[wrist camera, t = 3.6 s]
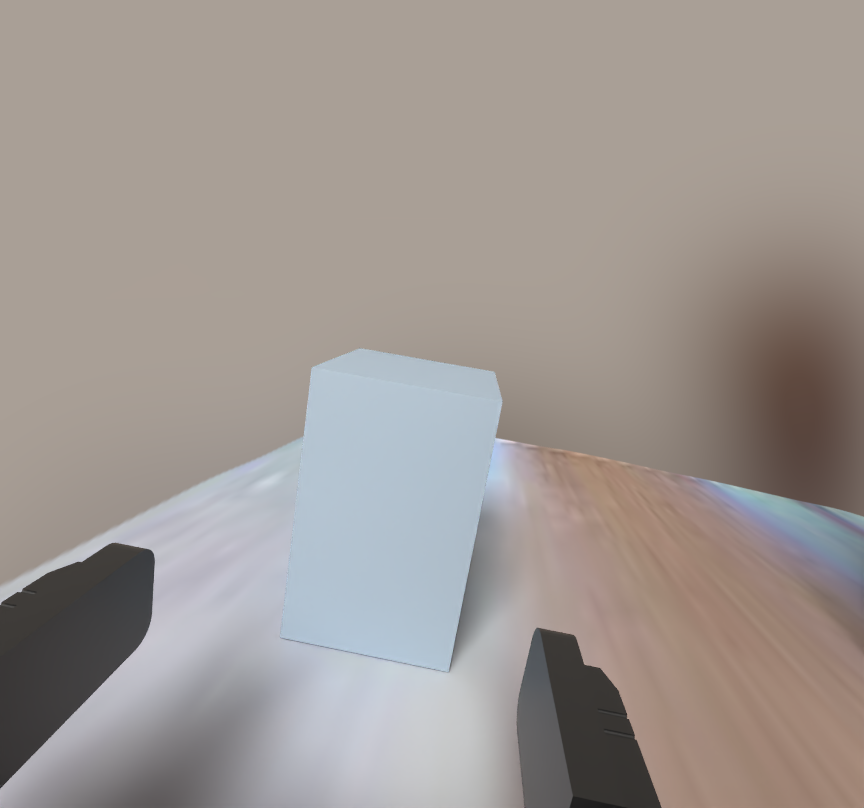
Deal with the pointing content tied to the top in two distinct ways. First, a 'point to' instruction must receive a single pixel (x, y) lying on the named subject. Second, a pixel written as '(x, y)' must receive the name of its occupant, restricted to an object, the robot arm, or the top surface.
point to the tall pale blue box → (388, 505)
